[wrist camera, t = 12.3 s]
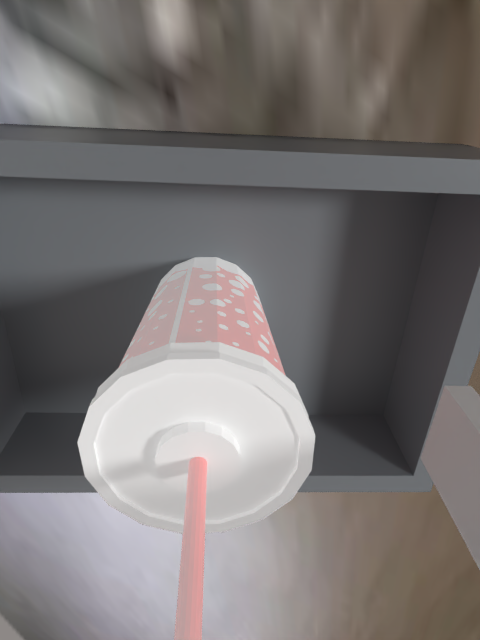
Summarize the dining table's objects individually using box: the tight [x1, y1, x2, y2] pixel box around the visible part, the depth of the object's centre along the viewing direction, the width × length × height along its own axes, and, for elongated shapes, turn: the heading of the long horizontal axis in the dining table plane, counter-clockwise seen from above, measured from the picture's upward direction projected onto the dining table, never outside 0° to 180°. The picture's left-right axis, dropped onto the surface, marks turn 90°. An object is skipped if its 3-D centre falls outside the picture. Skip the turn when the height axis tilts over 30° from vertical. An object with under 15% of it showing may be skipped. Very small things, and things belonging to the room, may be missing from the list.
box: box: [0, 124, 480, 493], centre depth 18 cm, size 14×20×5 cm
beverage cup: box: [77, 257, 315, 640], centre depth 13 cm, size 6×6×14 cm
